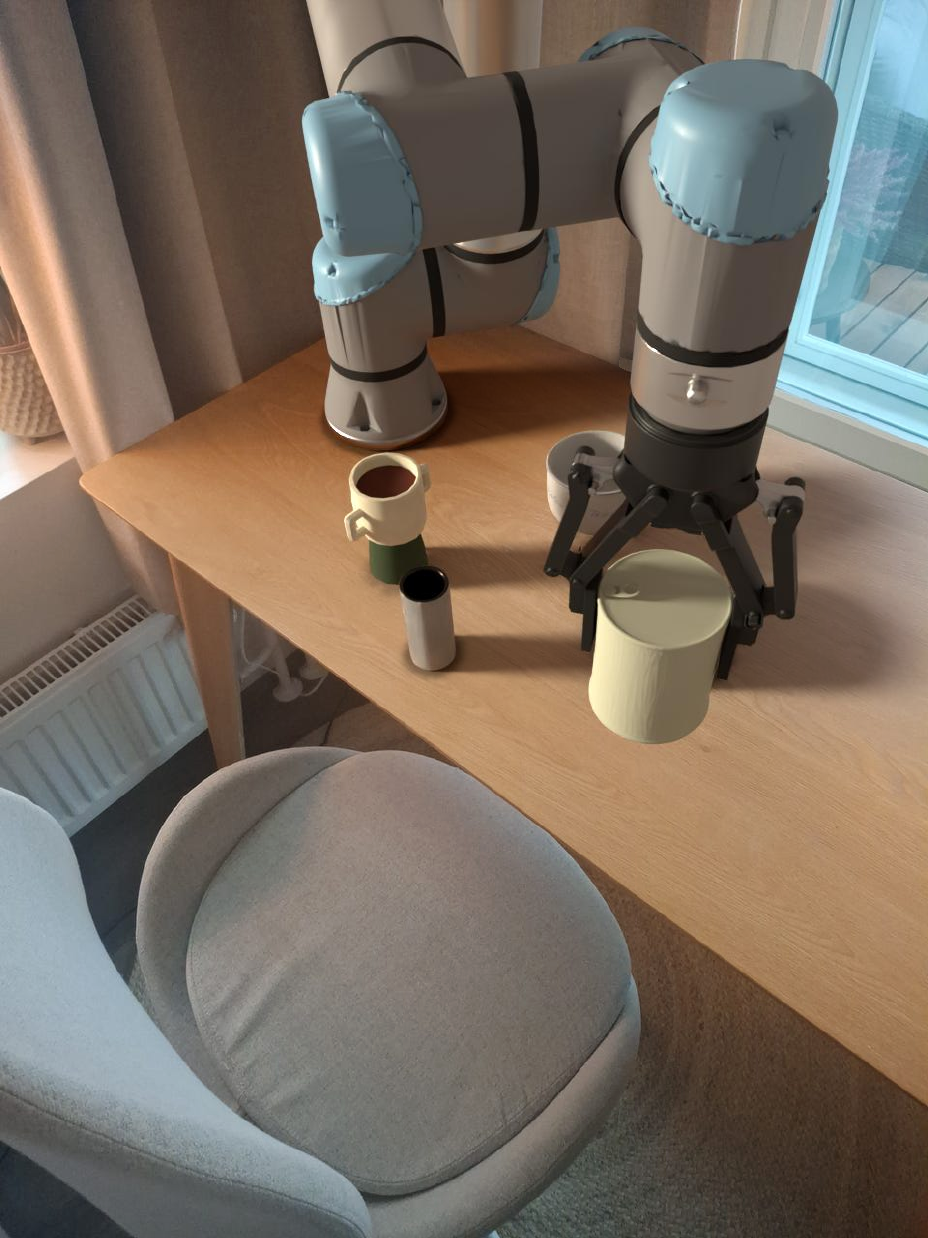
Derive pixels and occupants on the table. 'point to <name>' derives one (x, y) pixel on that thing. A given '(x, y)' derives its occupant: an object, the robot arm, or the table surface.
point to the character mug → (389, 512)
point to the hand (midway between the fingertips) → (655, 651)
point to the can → (657, 644)
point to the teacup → (559, 468)
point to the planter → (428, 617)
